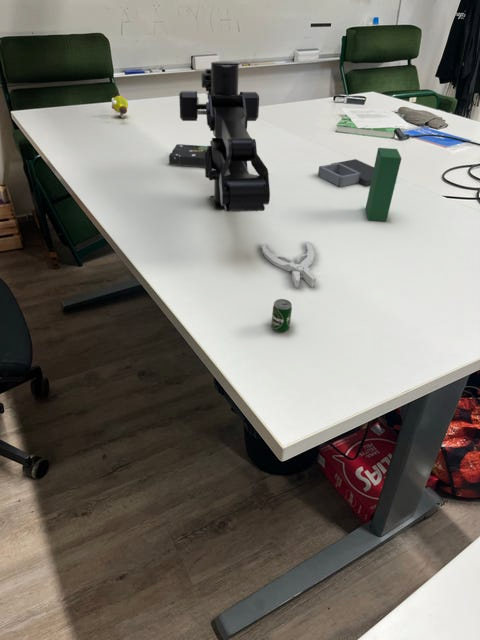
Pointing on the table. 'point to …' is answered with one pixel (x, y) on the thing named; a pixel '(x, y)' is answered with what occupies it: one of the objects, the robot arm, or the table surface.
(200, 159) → the disk drive
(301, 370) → the table surface
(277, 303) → the beer can
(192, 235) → the table surface
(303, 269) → the pliers
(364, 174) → the compartment tray
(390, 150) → the green rectangular block
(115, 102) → the toy figure
